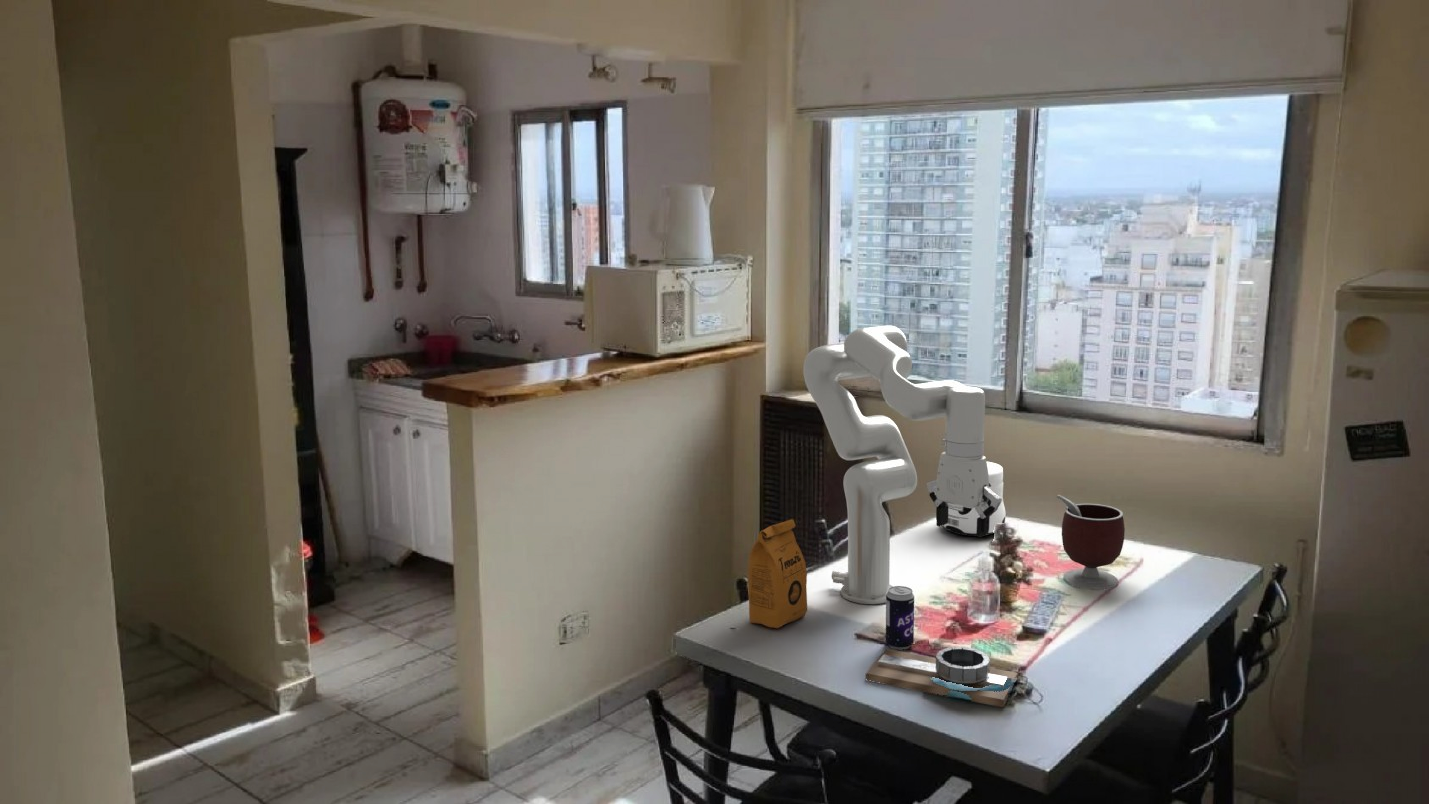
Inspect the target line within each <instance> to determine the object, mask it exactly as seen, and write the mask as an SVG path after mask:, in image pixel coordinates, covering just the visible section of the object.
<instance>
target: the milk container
mask: <svg viewBox="0 0 1429 804" xmlns="http://www.w3.org/2000/svg"><path fill="white" fill-rule="evenodd" d="M987 467H988V476H989V489H991V490H992V491H993V492H994V493H995V494H997V495H998V496H999V497H1000V498H1001V499H1002V502H1001V503H1000V505H999V507H998V509H997V511H995V512H994V513H993V514H992V515H991V516H990V518H989V531H988V534H987V535H986V536H991V535H993V530H994V526H995V524H997V523H1004V524H1005V522H1006V516H1007V515H1006V508H1005V504H1004V503H1005V502H1004V498H1003V495H1004V494H1003V493H1004V468H1003V466H1001V465H1000V464H998V463H995V462H992V461H991V462H990V461H987ZM987 504H988V506H989V507H990V505H991V500H990V499H988V502H987ZM946 505H948V523H947V524H945V525H942V527H944V528H945V529H946V530H947V531H949V532H951V533H953V534H954V533H955V534H958V535H962V536H970V537H974V536H975V537H977V535H976V533H977V518H979V517H980V516H979V514H978V513H977V511H976V509H975V508H967V507H963V506H959V505H954V504H950V503H946ZM982 509H983V508H982Z"/></svg>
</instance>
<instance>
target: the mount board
mask: <svg viewBox="0 0 1429 804" xmlns="http://www.w3.org/2000/svg"><path fill="white" fill-rule="evenodd" d="M884 654H885V655H890V656H896V657H901V658H906V659H912V660H917V661H923V662H928V663H934V664H936V657H934V656H933V657H931V656H926V655H921V654H916V653H911V652H906V651H905V652H904V651H901V650H895V649H889V648H885V649H884V650H883V651H882V653H881V654H880V655H879V657H877V659H876V660H875V661H874V663H873V664H872V665H871V666H870V667H869V668H868V670H867V671H866V673H865V680H866V679H867V680H871V681H874V682H873V683H877V682H880V683H879V684H882V683H884V684H883V685H887V686H893V687H897V688H898V687H899V688H903V689H908V690H912V691H913V690H914V691H916V692H917V691H919V692H921V693H922V692H924V693H928V694H932V693H933V695H937V694H939V695H938V696H943V695H947V694H949V693H948V691H951V690H952V689H949V688H946V687H944V686H941V685H938V684H936V683H934V682H933V680H931V679H930V678H932V677H935V678H939V679H941V680H944V679H942V678H941V677H938V676H933V675H927V674H922V673H917V672H911V671H906V670H901V669H896V668H890V667H885V666H880V665H878V661H879V660H880V658H881V657H882V656H883V655H884ZM989 674H993V675H999V676H1004V677H1007V678H1013V679H1015V678H1016V677H1017V678H1018V672H1015V671H1009V670H1004V669H999V668H993V667H990V672H989ZM871 681H870V682H871ZM944 681H946V680H944ZM946 682H949V681H946ZM962 685H964V686H968V687H973V688H983V687H985V685H980V684H967V685H966V684H962ZM1010 687H1011V686H1010ZM1010 687H1009V688H1008V689H1006V690H1004V691H1003V690H1002V691H1000V692H999V691H997V692H996V691H995V692H994V691H983V690H982V691H981V690H977V691H959V690H954V689H953V690H952V691H957V692H961V693H964V694H967V695H969V697H970V698H972V699H971V701H970V702H973V703H977V704H984V705H988V706H989V705H990V706H994V707H1000V708H1004V707H1005V706H1006V703H1007V701H1008V699H1007V697H1008V693H1009V689H1010ZM934 693H935V694H934ZM1008 698H1009V697H1008Z"/></svg>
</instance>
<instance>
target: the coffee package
mask: <svg viewBox="0 0 1429 804" xmlns="http://www.w3.org/2000/svg"><path fill="white" fill-rule="evenodd" d="M795 527H796V523H795V521H794V519H793V518H792V519H791V518H790V519H789V520H785V521H781V522H779V523H775V524H771V525H769V526H768V527H765V529H762V530H760V532H759V534H758V536H757V537H756V540H755V542H754V544H753V546H752V548H751V551H750V553H749V559H748V579H747V581H748V582H747V583H748V584H747V585H748V587H747V589H748V607H749V608H748V615H749V623H752V624H761V625H763V626H765V627H768V628H775V629H779V628H781V627H782V626H783V625H786V624H788V623H791V622H794V621H797V620H798V619H800V618H801V617H804V616H805V615H806V614H807V611H808V594H807V589H808V588H807V584H808V580H807V579H808V576H807V575H808V571H807V566H806V560H805V558H804V555H803V553H802V551H801V548H800V547H799V545H798V543H797V541H796V537H795V534H794V531H793V530H792V529H795Z"/></svg>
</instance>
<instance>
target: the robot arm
mask: <svg viewBox="0 0 1429 804" xmlns="http://www.w3.org/2000/svg"><path fill="white" fill-rule="evenodd" d="M907 350H908V341H907V338H906V335H905V334H904V332H903V331H902V330H901V329H900V328H898V327H897V326H894V325H890V324H889V325H888V324H887V325H877V326H866V327H860V328H857V329H855V330H853V331H851V332H850V333H849V334H847V336H846V337H845V339H844V342H840V343H830V344H826V345H825V344H824V345H821V346H818V347H816V348H813V349H812V350H811V351H810V352H808V354H807V355H806V356H805V359H804V362H803V377H804V383H805V387H806V388H807V391H808V393H809V394H810V396H811V397H812V399H813V401H814V402H815V404H816V406H817V408H818V410H819V411H820V413H821V416H822V418H823V421H824V424H825V427H826V428H827V430H828V434H829V437H830V439H831V441H832V443H833V446H834V448H835V450H836V453H837V454H838V456H839V457H840V458H841V459H842V460H845V461H856V460H863V459H868V458H875V457H876V458H877V459H873V460H868V461H863V462H860V463H859V462H858V463H855V464H853V465H852V466H850V467H849V468H848V469H847V471H846V472H845V474H844V476H843V483H842V484H843V490H844V494H845V495H844V496H845V499H846V508H847V571H846V572H844V573H843V572H839V571H832V573H831V580H832V583H835V584H840V585H842V586H841V588H840V594H841V596H842V597H843V598H844V599H846V600H847V601H850V602H852V603H857V604H860V605H861V604H862V605H880V604H886V595H887V593H888V589H889V588H891V587H894V586H893V585H891V584H890V566H891V565H890V559H891V558H890V556H891V555H890V553H891V552H890V551H891V550H890V547H891V545H890V543H891V540H890V538H891V523H890V518H889V515H888V514H887V511H886V510H885V508H884V507H883V505H882V504H883V503H884V502H887V501H891V500H895V499H896V500H897V499H900V498H905V497H908V496H909V495H911V494H913V493H914V491H915V490H916V488H917V485H918V475H917V471H916V467H915V465H914V462H913V460H912V457H911V454H910V453H909V450H908V447H907V446H906V443H905V441H904V438H903V436H902V434H901V432H900V429H899V427H898V426H897V424H896V423H895V422H894V421H893V420H892V418H890V417H888V416H886V415H883V414H877V415H876V414H875V415H869V416H865V415H863V414H862V412H861V410H860V408H859V405H858V403H857V401H856V399H855V397H854V396H853V394H852V393H851V392H850V391H849V390H848V389H847V388H846V387H844V386H843V385H841V384H840V382H839V381H842V380H850V379H858V378H865V377H868V376H869V377H870V376H871V377H872V378H874V379H875V380H877V381H878V382H879V385H880V391H881V394H882V397H883V400H884V401H885V403H886V404H887V405H888V406H889V407H890V409H892V410H894V411H895V412H897V413H898V414H899V415H901V416H902V417H904V418H905V419H908V420H910V421H914V422H922V421H929V420H933V419H941V418H945V437H944V438H943V439H941V441H940V444H941V446H944V451H943V452H941V454H940V458H939V462H938V467H937V473H936V479H934V480H931V481H928V482H927V483H926V484H925V485H926V488H927V491H928V493H929V494H928V496H929V498H930V499H931V500H932V502H933V506H934V507H935V508H936V509H935V519H936V522H935V523H936V525H935V526H937V527H943V525H945V524H947V523H948V505H946V503H950V504H954V505H959V506H963V507H967V508H975V509H976V511H977V513H978V514H979V516H980V517H979V518H977V533H976V535H977V536H976V538H977V537H978V538H982V537H984V536H988V535H987V534H988V531H989V518H990V516H991V515H992V514H993V513H994V512H995V511H997V509H998V507H999V505H1000V503H1001V502H1002V499H1001V498H1000V497H999V496H998V495H997V494H995V493H994V492H993V491H992V490H991V489H989V476H988V467H987V462H988V461H987V458H986V456H984V451H985V450H984V449H985V448H984V446H985V442H984V441H985V422H986V420H985V416H986V415H985V414H986V413H985V412H986V394H985V391H984V390H983V389H982V388H979V387H976V386H967V385H965V384H962V383H960V382H958V381H955V380H952V379H944V380H938V381H930V382H929V381H927V382H921V383H916V384H915V383H912V382H910V381H909V380H908V377H909V376H910V374H911V372H912V368H913V360H912V357H911V355H910V354H909V353H908V352H907ZM988 499H990V500H991V505H990V507H989V506H988V504H987V502H988ZM982 508H983V509H982Z"/></svg>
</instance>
